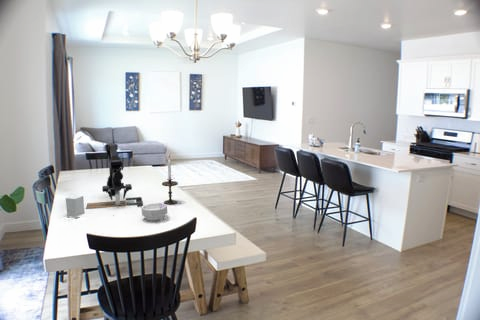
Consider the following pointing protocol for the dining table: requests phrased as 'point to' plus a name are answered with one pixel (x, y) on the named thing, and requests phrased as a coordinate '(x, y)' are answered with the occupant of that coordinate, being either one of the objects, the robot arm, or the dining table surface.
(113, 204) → the board
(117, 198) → the grey block
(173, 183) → the candlestick
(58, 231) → the dining table surface
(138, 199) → the tray
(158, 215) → the paper bowls
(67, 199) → the supplement box
